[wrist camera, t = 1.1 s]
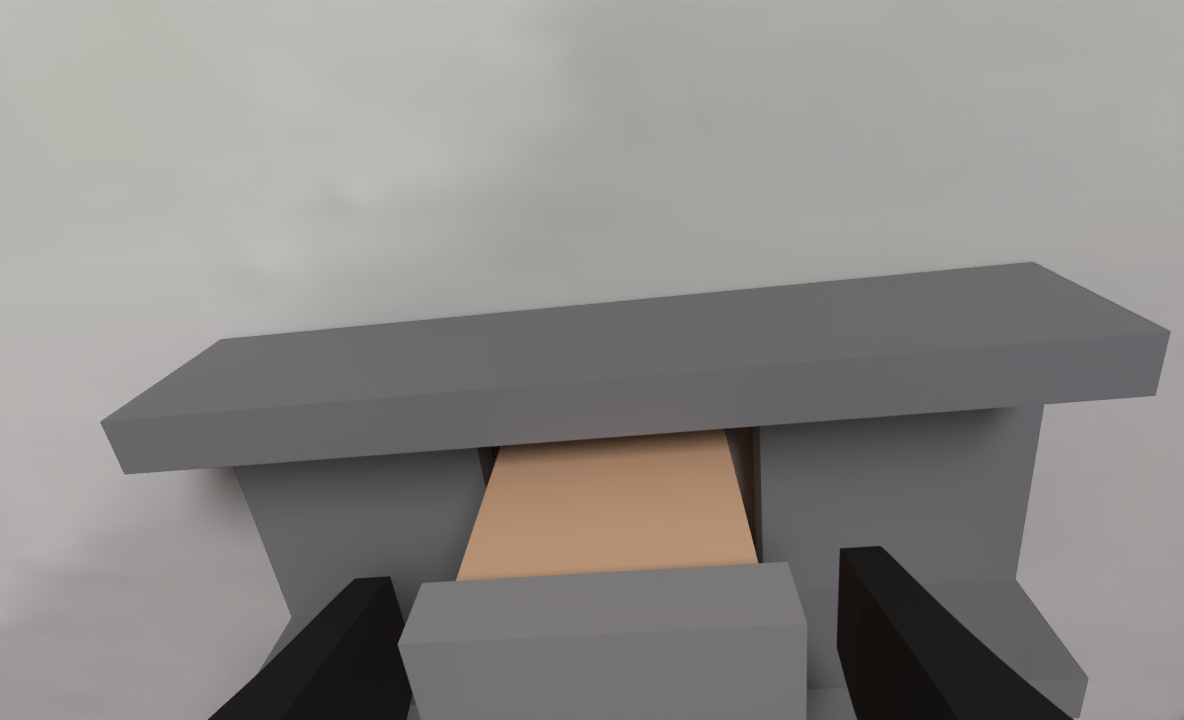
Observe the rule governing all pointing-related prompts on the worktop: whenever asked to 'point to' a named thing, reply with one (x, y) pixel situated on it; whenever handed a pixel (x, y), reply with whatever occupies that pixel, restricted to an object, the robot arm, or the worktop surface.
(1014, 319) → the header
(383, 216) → the worktop surface
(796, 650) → the plug
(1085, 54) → the worktop surface
